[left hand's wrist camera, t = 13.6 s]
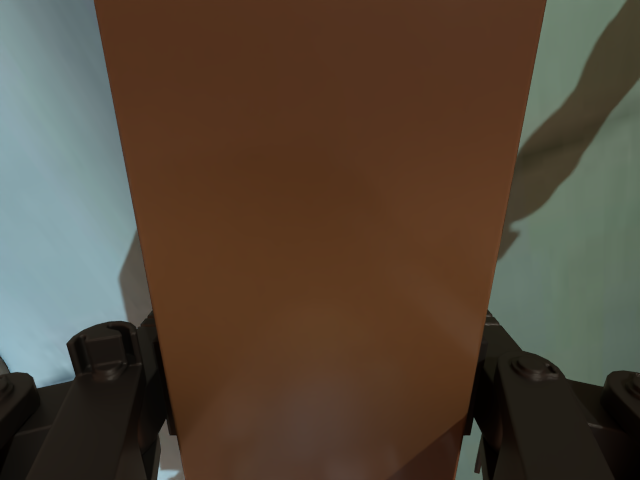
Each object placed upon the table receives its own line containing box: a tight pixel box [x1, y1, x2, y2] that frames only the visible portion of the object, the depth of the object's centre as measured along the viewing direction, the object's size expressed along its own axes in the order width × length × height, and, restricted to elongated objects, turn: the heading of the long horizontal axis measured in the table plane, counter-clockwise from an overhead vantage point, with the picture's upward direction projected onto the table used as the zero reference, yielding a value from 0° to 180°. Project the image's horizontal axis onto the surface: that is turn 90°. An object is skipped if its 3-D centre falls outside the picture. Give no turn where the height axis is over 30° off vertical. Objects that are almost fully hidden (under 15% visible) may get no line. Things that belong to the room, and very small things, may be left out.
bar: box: [94, 0, 547, 480], centre depth 8 cm, size 23×6×8 cm, turn 0°
